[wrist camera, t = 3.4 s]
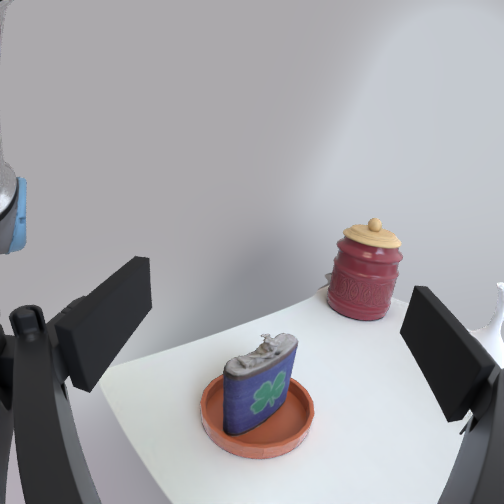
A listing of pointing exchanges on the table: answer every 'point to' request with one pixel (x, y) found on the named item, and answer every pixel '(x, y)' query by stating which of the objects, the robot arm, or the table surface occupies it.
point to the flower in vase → (493, 331)
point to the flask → (257, 384)
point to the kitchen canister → (364, 271)
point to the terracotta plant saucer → (266, 435)
